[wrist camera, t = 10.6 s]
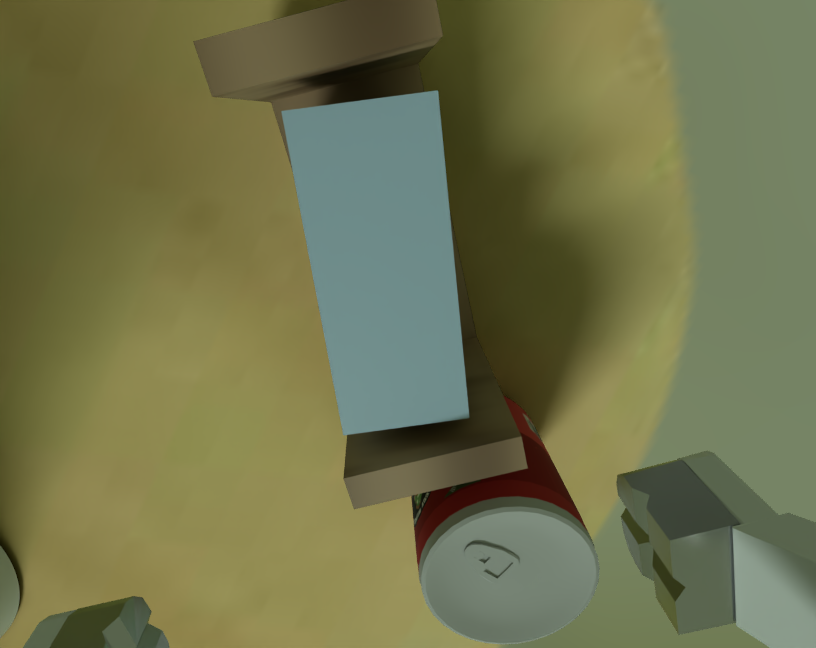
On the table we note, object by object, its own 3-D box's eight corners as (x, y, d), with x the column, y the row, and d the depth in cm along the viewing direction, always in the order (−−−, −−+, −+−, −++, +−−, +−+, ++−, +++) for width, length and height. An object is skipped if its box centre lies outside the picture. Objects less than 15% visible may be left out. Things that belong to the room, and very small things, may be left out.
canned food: (435, 365, 32) (463, 483, 22) (556, 407, 34) (636, 538, 23) (386, 470, 35) (391, 622, 24) (501, 506, 36) (552, 663, 26)
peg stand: (360, 382, 32) (353, 509, 22) (264, 68, 26) (193, 41, 16) (478, 353, 32) (527, 468, 22) (409, 30, 26) (431, -23, 16)
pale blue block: (303, 111, 23) (281, 111, 18) (422, 95, 23) (438, 90, 18) (350, 369, 28) (343, 435, 22) (450, 355, 28) (469, 417, 22)
